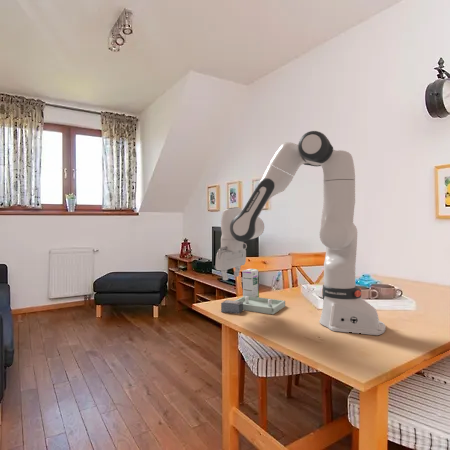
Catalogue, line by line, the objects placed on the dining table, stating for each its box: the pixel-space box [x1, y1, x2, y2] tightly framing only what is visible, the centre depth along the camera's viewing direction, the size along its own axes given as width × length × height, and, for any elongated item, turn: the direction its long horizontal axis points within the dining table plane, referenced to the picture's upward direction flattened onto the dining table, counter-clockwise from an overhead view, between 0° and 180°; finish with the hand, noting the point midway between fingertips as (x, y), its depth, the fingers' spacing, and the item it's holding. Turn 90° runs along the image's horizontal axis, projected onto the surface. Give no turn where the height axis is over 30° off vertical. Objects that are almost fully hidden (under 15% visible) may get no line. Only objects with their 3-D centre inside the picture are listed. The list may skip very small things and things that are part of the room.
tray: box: [234, 296, 286, 315], centre depth 145 cm, size 20×14×4 cm
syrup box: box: [242, 268, 260, 297], centre depth 159 cm, size 6×6×14 cm
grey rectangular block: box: [220, 299, 244, 315], centre depth 140 cm, size 8×5×4 cm, turn 66°
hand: (231, 278), depth 139 cm, fingers open, 8 cm apart
